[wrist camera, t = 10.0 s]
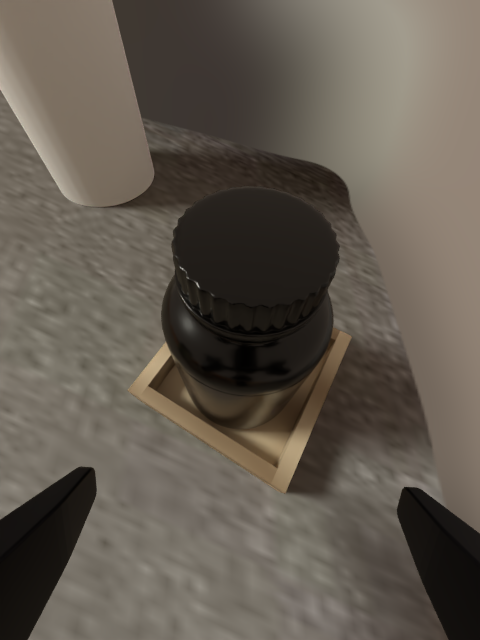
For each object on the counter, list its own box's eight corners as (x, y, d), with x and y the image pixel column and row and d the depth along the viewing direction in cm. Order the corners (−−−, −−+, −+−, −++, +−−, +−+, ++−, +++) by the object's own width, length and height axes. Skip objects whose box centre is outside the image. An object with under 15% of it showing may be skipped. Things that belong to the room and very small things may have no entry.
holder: (278, 491, 16) (285, 493, 14) (138, 399, 18) (127, 390, 16) (340, 349, 20) (351, 336, 18) (221, 289, 22) (220, 272, 20)
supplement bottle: (300, 427, 17) (418, 347, 6) (185, 434, 16) (107, 360, 6) (284, 326, 20) (344, 163, 10) (189, 330, 20) (142, 164, 9)
